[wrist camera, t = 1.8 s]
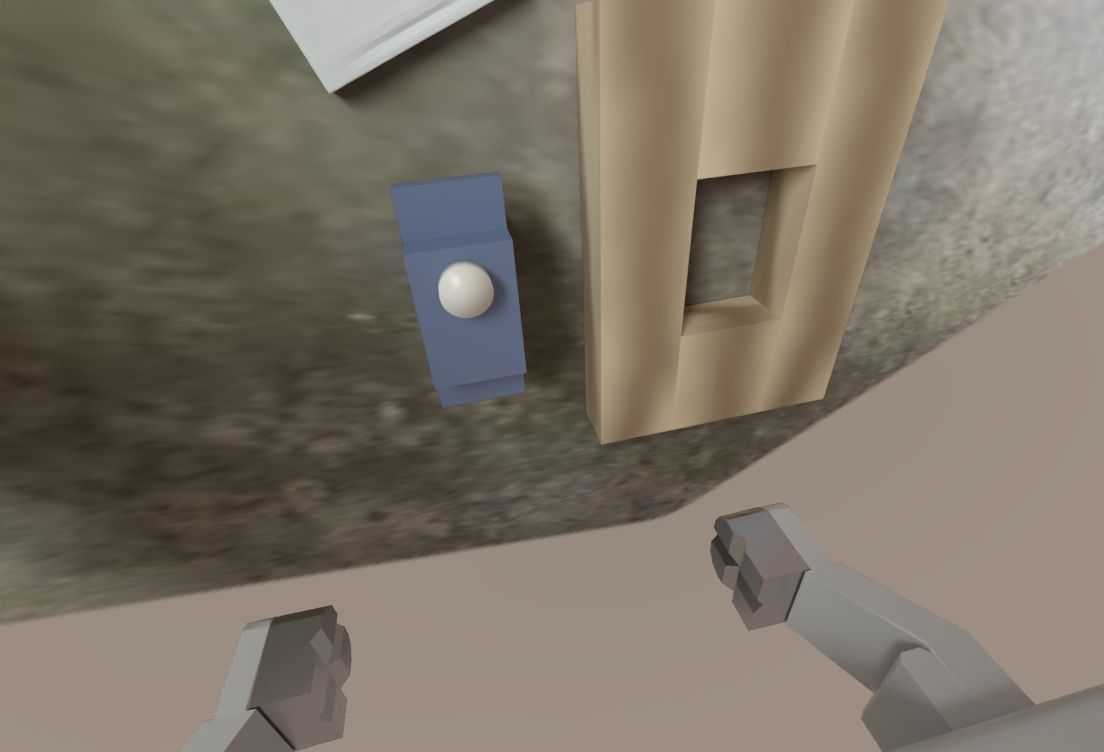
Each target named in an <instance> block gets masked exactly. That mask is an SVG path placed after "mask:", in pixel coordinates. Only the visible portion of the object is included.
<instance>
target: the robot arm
mask: <svg viewBox="0 0 1104 752" xmlns="http://www.w3.org/2000/svg"><path fill="white" fill-rule="evenodd" d="M714 528H715V530H716V532H717V534H718V535H717V536H716V537H715V538H714V539H713V540H712V542H711V550H710V552H711V557H712V563H713V565H714V568H715V571H716V573H717V575H718V577H719V579H720V581H721V582H722V583H723V584H724V585H726V586H727V587H729V588H730V589H732V590H733V591H734V592H733V600H732V602H733V604H734V606H735V608H736V609H737V611H738V613H739V615H740V616H741V618H742V620H743V622H744V623H745V625H746V627H747V629H748V630H753V629H758V628H762V627H766V626H771V625H775V624H779V623H784V622H786V625H787V626H788V627H790V628H791V629H792V630H793V631H795V632H796V633H797V634H799V635H800V636H802V637H803V638H804V639H805V640H807V641H808V642H809V643H810V644H811V645H813V646H814V647H815V648H817V649H818V650H819V651H820V652H822V653H823V654H824V655H826V656H827V657H828V658H830V659H831V660H832V661H834V662H835V663H836V664H837V665H838V666H840V667H841V668H842V669H844V670H845V671H846V672H847V673H849V674H850V675H851V676H853V677H854V678H855V679H856V680H858V681H859V682H860V683H862V684H863V685H864V686H865V687H867V688H868V689H869V690H871V691H872V692H873V693H874V694H873V696H872V697H871V699H870V700H869V702H868V703H867V705H866V707H865V708H864V710H863V713H862V717H861V719H862V721H863V722H864V724H865V725H866V727H867V729H868V730H869V732H870V733H871V735H872V736H873V738H874V740H875V741H876V742H877V744H878V746H879V747H880V749H881V750H882V752H1104V684H1101V685H1098V686H1095V687H1091V688H1088V689H1085V690H1082V691H1078V692H1075V693H1072V694H1069V695H1066V696H1062V697H1059V698H1056V699H1053V700H1050V701H1047V702H1043V703H1040V704H1037V705H1035V704H1034V703H1033V702H1032V700H1031V699H1030V698H1029V697H1028V696H1027V695H1026V694H1025V693H1024V692H1023V691H1022V690H1021V689H1020V688H1019V686H1018V685H1017V684H1016V683H1015V682H1014V681H1013V680H1012V679H1011V678H1010V677H1009V676H1008V675H1007V673H1006V672H1005V671H1004V670H1003V669H1002V668H1001V667H1000V666H999V665H998V664H997V663H996V662H995V661H994V659H993V658H992V657H991V656H990V655H989V654H988V653H987V652H986V651H985V650H984V649H983V647H982V646H981V645H980V644H979V643H978V642H977V641H976V640H975V639H974V638H973V637H972V636H971V634H970V633H969V632H967V631H966V630H964V629H962V628H960V627H958V626H956V625H955V624H953V623H951V622H949V621H947V620H945V619H944V618H942V617H940V616H938V615H936V614H934V613H933V612H931V611H929V610H927V609H925V608H923V607H921V606H920V605H918V604H916V603H914V602H912V601H911V600H909V599H907V598H905V597H903V596H901V595H900V594H898V593H896V592H894V591H892V590H890V589H889V588H887V587H885V586H883V585H881V584H879V583H878V582H876V581H874V580H872V579H870V578H869V577H867V576H865V575H863V574H861V573H859V572H857V571H856V570H854V569H851V568H850V567H848V566H847V565H845V564H843V563H836V564H835V563H834V562H833V561H832V560H831V559H830V558H829V556H828V555H827V553H826V552H825V551H824V550H823V549H822V548H821V546H820V545H819V544H818V542H817V541H816V540H815V539H814V537H813V536H812V535H811V534H810V532H809V531H808V530H807V529H806V528H805V526H804V525H803V524H802V522H801V521H800V520H799V519H798V517H797V516H796V515H795V514H794V512H793V511H792V510H791V509H790V507H789V506H788V505H786V504H784V503H776V504H773V505H768V506H764V507H757V508H753V509H749V510H745V511H741V512H737V513H732V514H729V515H725V516H720V517H719V518H717V520H716V521H715V526H714ZM336 621H337V613H336V611H335V609H334V608H333V606H332V605H330V606H326V607H321V608H316V609H311V610H307V611H302V612H298V613H293V614H288V615H284V616H279V617H273V618H268V619H264V620H259V621H255V622H251V623H247V624H246V626H245V628H244V629H243V631H242V632H241V634H240V637H239V640H238V643H237V646H236V650H235V653H234V656H233V659H232V663H231V666H230V669H229V672H228V675H227V679H226V682H225V685H224V689H223V692H222V695H221V698H220V702H219V705H218V708H217V711H216V715H215V718H214V719H211V720H208V721H205V722H204V723H203V725H202V726H201V727H200V728H199V729H198V731H197V732H196V733H195V734H194V736H193V737H192V738H191V739H190V740H189V741H188V743H187V744H186V745H185V746H184V748H183V749H182V750H181V751H180V752H294V751H298V750H301V749H305V748H308V747H311V746H315V745H318V744H322V743H325V742H329V741H332V740H335V739H339V738H342V737H343V730H344V721H345V713H346V705H347V698H346V697H345V695H344V693H343V692H342V690H341V687H342V686H343V684H344V683H345V681H346V680H347V678H348V677H349V675H350V668H351V644H350V639H349V636H348V633H347V631H346V629H345V627H344V626H342V625H339V624H337V623H336Z"/></svg>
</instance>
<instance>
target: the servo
mask: <svg viewBox="0 0 1104 752" xmlns="http://www.w3.org/2000/svg"><path fill="white" fill-rule="evenodd" d="M390 190H391V194H392V199H393V203H394V207H395V211H396V216H397V220H398V224H399V228H400V232H401V237H402V241H403V252H402V255H403V259H404V264H405V268H406V272H407V276H408V280H409V284H410V288H411V293H412V297H413V301H414V305H415V309H416V313H417V318H418V322H419V326H420V330H421V334H422V338H423V342H424V347H425V351H426V355H427V359H428V363H429V367H430V372H431V376H432V380H433V384H434V388H435V389H438V393H439V397H440V401H441V406H442V408H444V407H450V406H455V405H460V404H466V403H471V402H476V401H482V400H487V399H493V398H498V397H503V396H509V395H514V394H520V393H525V384H524V375H523V374H524V373H527V370H526V361H525V352H524V342H523V333H522V324H521V315H520V305H519V296H518V287H517V277H516V268H515V259H514V249H513V240H512V238H511V236H510V234H509V232H508V230H507V224H506V215H505V206H504V197H503V188H502V179H501V174H500V173H499V172H491V173H482V174H474V175H465V176H457V177H448V178H439V179H431V180H422V181H413V182H405V183H396V184H391V185H390Z"/></svg>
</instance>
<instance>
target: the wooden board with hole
mask: <svg viewBox="0 0 1104 752" xmlns="http://www.w3.org/2000/svg"><path fill="white" fill-rule="evenodd" d="M949 1H950V0H595V1H590V2H585V3H580V4H576V30H577V69H578V108H579V146H580V185H581V224H582V262H583V301H584V340H585V379H586V413H587V415H588V417H589V419H590V421H591V423H592V425H593V428H594V430H595V432H596V434H597V436H598V438H599V440H600V443H601V445H602V444H607V443H612V442H616V441H621V440H626V439H631V438H636V437H641V436H645V435H650V434H655V433H660V432H665V431H669V430H674V429H679V428H684V427H689V426H694V425H698V424H703V423H708V422H713V421H718V420H723V419H727V418H732V417H737V416H742V415H747V414H752V413H756V412H761V411H766V410H771V409H776V408H781V407H785V406H790V405H795V404H800V403H805V402H810V401H814V400H819V399H823V398H824V395H825V392H826V388H827V385H828V382H829V379H830V376H831V373H832V369H833V366H834V363H835V360H836V357H837V354H838V351H839V347H840V344H841V341H842V338H843V335H844V332H845V328H846V325H847V322H848V319H849V316H850V313H851V310H852V306H853V303H854V300H855V297H856V294H857V291H858V287H859V284H860V281H861V278H862V275H863V272H864V269H865V265H866V262H867V259H868V256H869V253H870V250H871V246H872V243H873V240H874V237H875V234H876V231H877V228H878V224H879V221H880V218H881V215H882V212H883V209H884V205H885V202H886V199H887V196H888V193H889V190H890V187H891V183H892V180H893V177H894V174H895V171H896V168H897V164H898V161H899V158H900V155H901V152H902V149H903V146H904V142H905V139H906V136H907V133H908V130H909V127H910V124H911V120H912V117H913V114H914V111H915V108H916V105H917V101H918V98H919V95H920V92H921V89H922V86H923V83H924V79H925V76H926V73H927V70H928V67H929V64H930V60H931V57H932V54H933V51H934V48H935V45H936V42H937V38H938V35H939V32H940V29H941V26H942V23H943V19H944V16H945V13H946V10H947V7H948V4H949ZM768 170H773V172H772V178H771V183H770V189H769V194H768V199H767V205H766V210H765V216H764V221H763V227H762V232H761V238H760V243H759V248H758V254H757V259H756V265H755V270H754V276H753V281H752V287H751V292H750V295H748V296H742V297H736V298H730V299H724V300H718V301H712V302H706V303H700V304H694V305H688V306H684V302H685V293H686V283H687V273H688V263H689V254H690V244H691V234H692V224H693V214H694V205H695V195H696V185H697V179H704V178H712V177H720V176H728V175H736V174H744V173H752V172H760V171H768Z"/></svg>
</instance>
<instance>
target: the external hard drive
mask: <svg viewBox="0 0 1104 752" xmlns="http://www.w3.org/2000/svg"><path fill="white" fill-rule="evenodd" d="M269 1H270V2H271V4H272V6H273V7H274V9H275V10H276V12H277V13H278V15H279V16H280V18H281V19H282V21H283V22H284V24H285V26H286V27H287V29H288V30H289V32H290V34H291V35H292V37H293V38H294V40H295V41H296V43H297V44H298V46H299V47H300V49H301V51H302V52H303V54H304V55H305V57H306V58H307V60H308V61H309V63H310V65H311V66H312V68H313V69H314V71H315V73H316V74H317V76H318V77H319V79H320V80H321V82H322V83H323V85H324V87H325V88H326V90H327V91H328V93H329V94H331V93H333V92H334V91H336V90H338V89H340V88H341V87H343V86H345V85H347V84H348V83H350V82H352V81H354V80H355V79H357V78H359V77H360V76H362V75H364V74H366V73H367V72H369V71H371V70H373V69H374V68H376V67H378V66H379V65H381V64H383V63H385V62H386V61H388V60H390V59H392V58H394V57H395V56H397V55H399V54H401V53H402V52H404V51H406V50H408V49H409V48H411V47H413V46H415V45H416V44H418V43H420V42H422V41H423V40H425V39H427V38H429V37H431V36H432V35H434V34H436V33H438V32H439V31H441V30H443V29H445V28H446V27H448V26H450V25H452V24H454V23H455V22H457V21H459V20H461V19H462V18H464V17H466V16H468V15H469V14H471V13H473V12H475V11H476V10H478V9H480V8H482V7H484V6H485V5H487V4H489V3H491V2H492V1H494V0H269Z"/></svg>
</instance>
